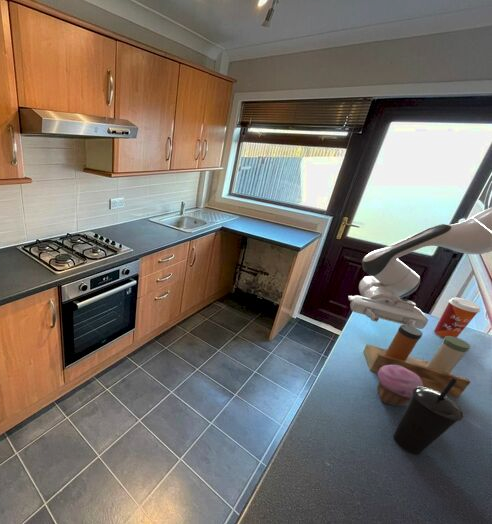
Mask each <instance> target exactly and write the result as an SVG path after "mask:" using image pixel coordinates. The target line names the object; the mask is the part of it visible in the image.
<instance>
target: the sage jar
mask: <svg viewBox="0 0 492 524" xmlns="http://www.w3.org/2000/svg"><path fill="white" fill-rule="evenodd" d="M470 349H471V345H470V344H469V343H468V342H467V341H465V340H463V339H462V338H459V337H457V338H456V337H453V336H446V337H445V338H443V340H442V342H441V343H440V345H439V347H438V348H437V349H436V351H435V353H434V354H433V355H432V357H431V358H430V360H429V361H428V362H429V363H428V364H427V366H426V367H428V368H431V369H435V370H438V371H441V372H445V373H448V374H450V373H451V372H452V373H453V370H454V369H455V368H456V367H457V365H458V364H459V363H460V361H461V360H462V359H463V357H464V356H465V354H466V353H468V352H469V350H470Z"/></svg>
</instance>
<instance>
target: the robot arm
mask: <svg viewBox="0 0 492 524" xmlns="http://www.w3.org/2000/svg"><path fill="white" fill-rule="evenodd" d="M425 247H441V248H445V249H447V250H451V251H454V252H457V253H461V254H465V255H484V254H487V253H491V252H492V206H491V207H489V208H488V207H487V208H486V209H484V210H482V211H481V212H478V213H477V214H475V215H473V216H472V217H469V218H467V219H466V220H463V221H460V222H457V223H452V224H445V223H440V224H437V225H434V226H431V227H428V228H425V229H423V230H421V231H419V232H417V233H414V234H412V235H409V236H407V237H405V238H402V239H400V240H398V241H396V242H394V243H392V244H390V245H387V246H385V247H381V248H378V249H375V250H373V251H371V252H368V254H366V255H365V256H364V257H363V258H362V261H361V268H362V271H364V272H365V273H366V274H368V275H367V276H364V277H363V278H362V279H361V280H360V281H359V284H358V291H359V294H360V295H357V294H355V295H348V297H347V299H348V301H349V302H350V304H349V307H350V311H352V312H354V313H357V314H360V315H364V316H366V317H367V318H369V319H370V320H371V322H376V323H378V321H379V319H380V320H384V321H387V322H391V323H395V324H399V325H409V326H412V327H415V328H417V329H418V330H422V329H424V328H426V326H427V324H428V322H429V319H428V317H427V316H426V315H425V313H424V312H423V311H422V310H421V309H420V308H418V307H417V304H416V302H414V301H413V300H409V299H406V298H405V297H408V296H409V295H411V294H413V293H414V292H416V291H417V289H418V288H419V286H420V284H421V276H420V275H419V274H418V273H416V271H414V270H413V269H412V268H411V267H409V266H408V265H406V264H405V263H404V262H403V261H401V260H400V259H399V258H401V257H403V256H406V255H408V254H410V253H413V252H415V251H417V250H420V249H423V248H425Z"/></svg>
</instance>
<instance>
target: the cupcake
mask: <svg viewBox="0 0 492 524" xmlns="http://www.w3.org/2000/svg"><path fill="white" fill-rule="evenodd" d="M377 377H378V383H377V388H376V389H377V394H378V396H379V399H380V401H382V403H385V404H388V405H392V406H396V407H397V406H405V405H408V404H409V401H410V399H411V397H412V395H413V393H412V392H413V389H414V388H416V387H424V386H423V383H422V380H421V379H420V377H419V376H418V375H417V374H415V373H414V372H412V371H410V370H408V369H406V368H404V367H402V366H399V365H385V366H382V367H381V368H380V369H379V371H378V373H377Z"/></svg>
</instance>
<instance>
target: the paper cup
mask: <svg viewBox="0 0 492 524" xmlns="http://www.w3.org/2000/svg"><path fill="white" fill-rule="evenodd" d="M480 312H481V306H480V305H479V304H478V303H476V302H474V301H472V300H469V299H466V298H463V297H455V296H454V297H451V298H450V299H448V303H447V305H446V307H445V309H444V311H443V313H442V315H441V317H440V319H439V320H438V322H437V324H436V326H435V328H434V330H433V333H435V335H437V336H439V337H440V338H443V339H444V338H445V337H446V336H453V337H456V338H459V335H460V334H461V333H462V332H463V331H464V330H465V328H467V326H468V325H469V323H471V321H472V320H473V319H474V318H475V316H476V315H477V314H478V313H480Z"/></svg>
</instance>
